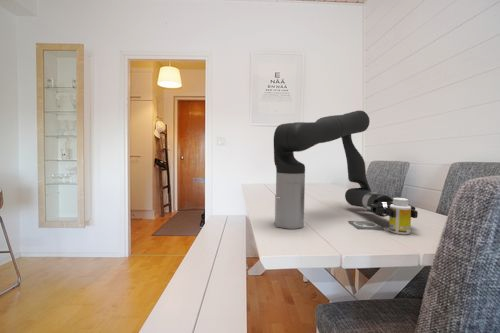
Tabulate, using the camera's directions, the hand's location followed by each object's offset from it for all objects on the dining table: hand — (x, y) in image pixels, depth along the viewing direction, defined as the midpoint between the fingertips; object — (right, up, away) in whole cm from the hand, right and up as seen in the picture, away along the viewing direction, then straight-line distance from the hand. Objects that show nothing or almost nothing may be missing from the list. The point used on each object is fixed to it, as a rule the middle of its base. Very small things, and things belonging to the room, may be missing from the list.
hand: (405, 214), depth 73 cm
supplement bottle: (0, -6, +3) cm, 7 cm away
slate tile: (-7, -5, +9) cm, 13 cm away
